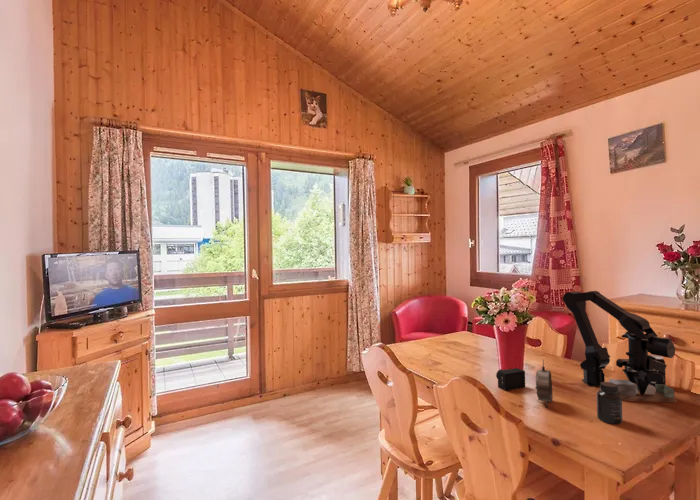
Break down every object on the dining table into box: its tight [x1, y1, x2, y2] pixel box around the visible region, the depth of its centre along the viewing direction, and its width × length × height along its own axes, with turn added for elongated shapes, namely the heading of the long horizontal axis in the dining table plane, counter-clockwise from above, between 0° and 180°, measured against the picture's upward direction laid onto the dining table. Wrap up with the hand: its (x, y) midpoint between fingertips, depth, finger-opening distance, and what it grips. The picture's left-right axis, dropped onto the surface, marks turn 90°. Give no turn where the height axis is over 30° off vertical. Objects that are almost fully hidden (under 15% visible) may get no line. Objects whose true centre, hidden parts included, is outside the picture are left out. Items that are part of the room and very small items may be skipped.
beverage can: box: [647, 354, 667, 387], centre depth 146 cm, size 7×7×12 cm
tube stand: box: [608, 379, 678, 404], centre depth 134 cm, size 20×6×6 cm, turn 81°
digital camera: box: [495, 367, 526, 392], centre depth 148 cm, size 10×5×7 cm, turn 109°
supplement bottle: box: [596, 381, 623, 426], centre depth 118 cm, size 7×7×12 cm
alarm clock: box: [535, 358, 553, 409], centre depth 132 cm, size 11×5×16 cm, turn 148°
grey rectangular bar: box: [634, 383, 655, 395], centre depth 135 cm, size 13×3×3 cm, turn 81°
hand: (639, 392), depth 135 cm, fingers closed on grey rectangular bar, 3 cm apart
